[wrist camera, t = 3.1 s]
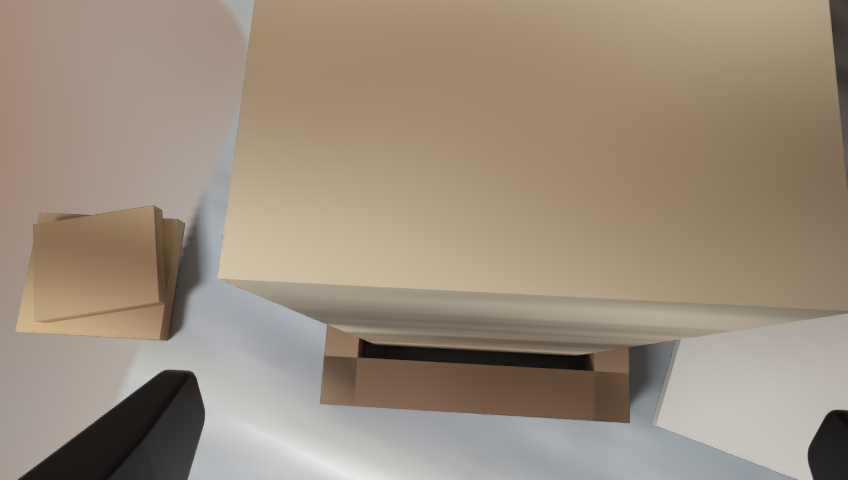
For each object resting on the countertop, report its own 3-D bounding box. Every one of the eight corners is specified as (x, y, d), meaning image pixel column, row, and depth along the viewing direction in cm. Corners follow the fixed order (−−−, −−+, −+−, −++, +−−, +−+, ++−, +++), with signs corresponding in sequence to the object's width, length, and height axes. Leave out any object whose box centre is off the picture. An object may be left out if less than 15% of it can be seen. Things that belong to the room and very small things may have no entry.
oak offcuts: (170, 340, 20) (153, 338, 19) (28, 332, 20) (2, 329, 19) (188, 215, 21) (173, 206, 20) (52, 209, 21) (29, 199, 20)
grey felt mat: (881, 511, 18) (890, 514, 18) (651, 423, 19) (656, 425, 18) (926, 292, 19) (936, 290, 19) (710, 219, 20) (716, 216, 20)
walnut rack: (614, 419, 19) (629, 422, 17) (330, 401, 19) (319, 403, 18) (612, 198, 20) (625, 183, 19) (349, 187, 21) (340, 171, 19)
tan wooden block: (569, 356, 19) (858, 310, 6) (377, 345, 20) (216, 279, 6) (570, 249, 20) (827, -16, 6) (385, 241, 20) (258, -29, 7)
